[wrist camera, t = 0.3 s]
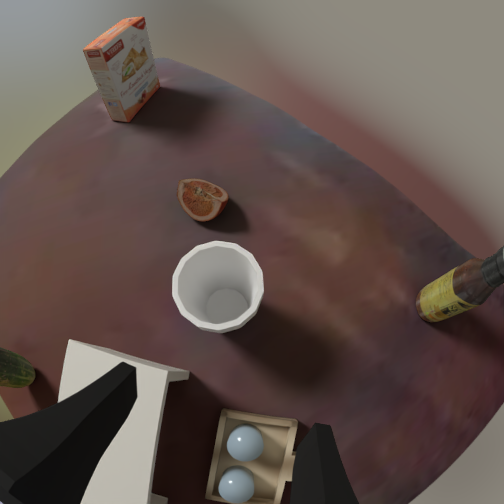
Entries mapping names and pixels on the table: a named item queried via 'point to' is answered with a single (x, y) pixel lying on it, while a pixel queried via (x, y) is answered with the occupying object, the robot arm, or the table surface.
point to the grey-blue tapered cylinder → (245, 442)
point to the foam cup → (218, 286)
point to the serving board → (265, 466)
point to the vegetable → (15, 370)
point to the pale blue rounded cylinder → (237, 484)
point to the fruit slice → (201, 199)
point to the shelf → (132, 431)
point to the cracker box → (123, 68)
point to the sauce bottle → (461, 288)
